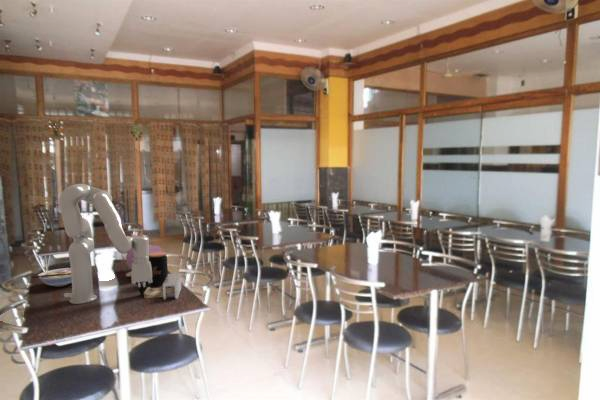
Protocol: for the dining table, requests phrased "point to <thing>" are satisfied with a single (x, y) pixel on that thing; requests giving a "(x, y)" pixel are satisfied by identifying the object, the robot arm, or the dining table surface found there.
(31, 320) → the dining table surface
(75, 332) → the dining table surface
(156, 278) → the coffee jar
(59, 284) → the ramen bowl
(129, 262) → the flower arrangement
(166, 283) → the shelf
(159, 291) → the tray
